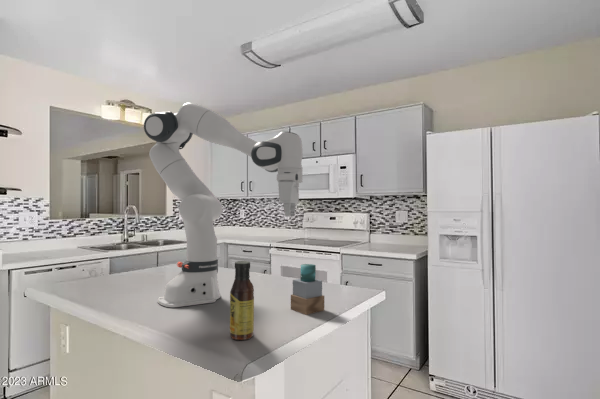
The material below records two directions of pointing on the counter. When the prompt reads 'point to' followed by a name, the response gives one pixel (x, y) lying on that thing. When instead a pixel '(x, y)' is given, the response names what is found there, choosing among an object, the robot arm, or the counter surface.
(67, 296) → the counter surface
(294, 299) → the walnut base block
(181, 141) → the robot arm
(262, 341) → the counter surface
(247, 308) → the sauce bottle
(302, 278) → the teal cylinder
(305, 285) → the slate top block
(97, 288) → the counter surface
